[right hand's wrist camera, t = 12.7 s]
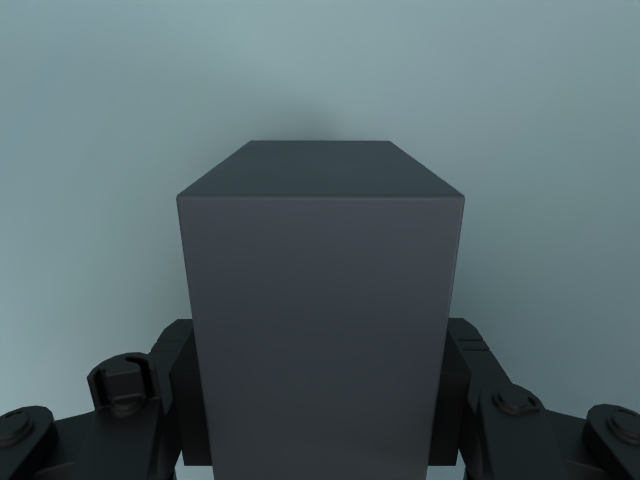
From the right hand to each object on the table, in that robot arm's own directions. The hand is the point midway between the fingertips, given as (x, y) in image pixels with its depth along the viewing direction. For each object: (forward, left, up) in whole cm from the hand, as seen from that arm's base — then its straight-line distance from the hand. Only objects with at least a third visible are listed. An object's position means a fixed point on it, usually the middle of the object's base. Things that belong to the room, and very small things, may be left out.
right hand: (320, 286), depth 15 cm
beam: (+30, +6, -1) cm, 30 cm away
